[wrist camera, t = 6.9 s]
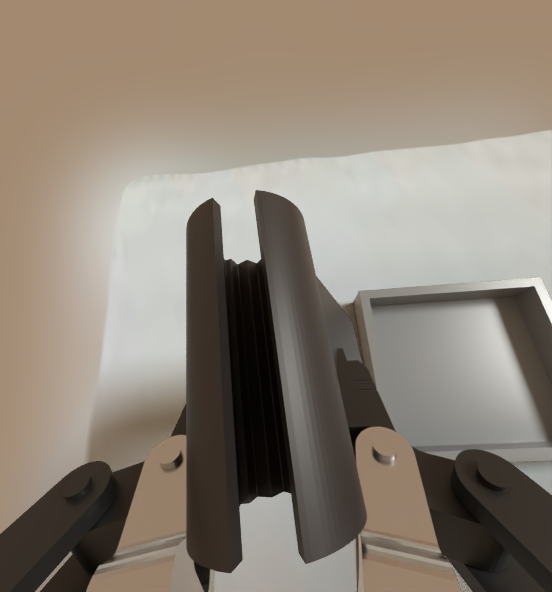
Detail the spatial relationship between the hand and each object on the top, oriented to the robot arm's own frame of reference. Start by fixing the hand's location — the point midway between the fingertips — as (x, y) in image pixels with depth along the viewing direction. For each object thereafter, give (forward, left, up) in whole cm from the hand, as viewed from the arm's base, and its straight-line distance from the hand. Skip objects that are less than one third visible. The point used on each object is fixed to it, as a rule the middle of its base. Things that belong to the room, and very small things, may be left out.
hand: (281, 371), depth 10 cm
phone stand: (0, 0, -6) cm, 6 cm away
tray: (-15, -1, -15) cm, 22 cm away
